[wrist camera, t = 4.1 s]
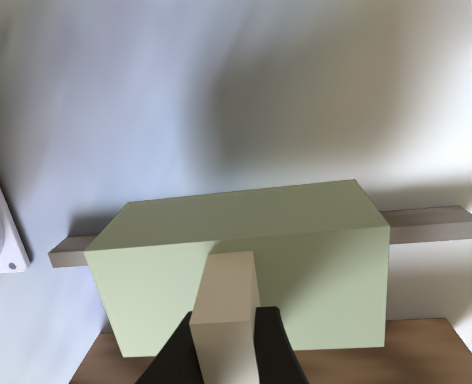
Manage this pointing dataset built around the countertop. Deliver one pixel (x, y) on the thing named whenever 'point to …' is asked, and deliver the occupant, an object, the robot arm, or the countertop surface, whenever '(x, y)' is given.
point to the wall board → (329, 360)
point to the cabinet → (245, 272)
